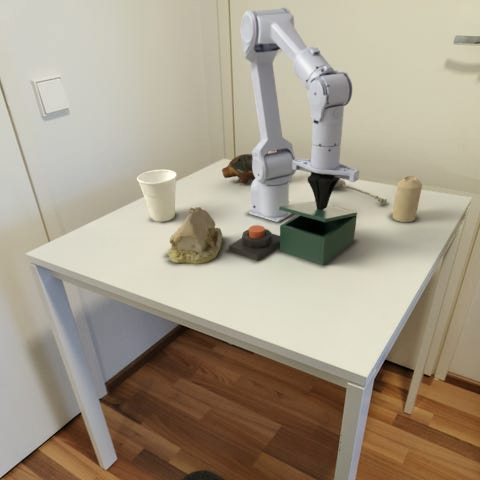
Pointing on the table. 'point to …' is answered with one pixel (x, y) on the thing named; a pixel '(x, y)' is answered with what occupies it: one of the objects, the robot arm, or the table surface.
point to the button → (256, 232)
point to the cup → (159, 193)
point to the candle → (407, 199)
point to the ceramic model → (195, 239)
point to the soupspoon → (342, 184)
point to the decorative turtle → (240, 168)
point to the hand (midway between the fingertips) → (321, 207)
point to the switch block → (255, 245)
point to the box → (316, 238)
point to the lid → (318, 211)
